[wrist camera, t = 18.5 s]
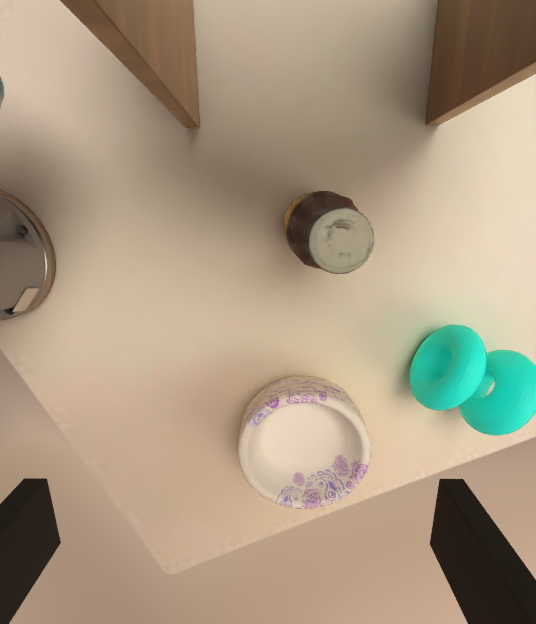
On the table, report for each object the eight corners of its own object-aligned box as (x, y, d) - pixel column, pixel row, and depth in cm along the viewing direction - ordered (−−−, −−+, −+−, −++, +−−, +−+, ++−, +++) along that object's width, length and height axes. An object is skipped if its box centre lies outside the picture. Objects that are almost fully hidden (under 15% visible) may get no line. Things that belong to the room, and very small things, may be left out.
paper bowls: (301, 341, 44) (307, 368, 36) (379, 417, 47) (400, 457, 39) (219, 416, 47) (208, 455, 39) (297, 483, 50) (302, 532, 42)
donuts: (437, 310, 43) (485, 338, 33) (504, 344, 44) (570, 380, 34) (394, 377, 45) (427, 421, 35) (459, 407, 46) (508, 458, 37)
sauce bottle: (304, 182, 39) (336, 152, 20) (349, 215, 40) (422, 216, 21) (271, 232, 40) (271, 250, 21) (315, 263, 41) (353, 306, 22)
